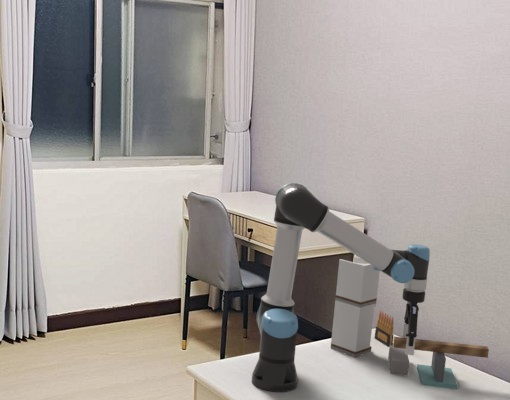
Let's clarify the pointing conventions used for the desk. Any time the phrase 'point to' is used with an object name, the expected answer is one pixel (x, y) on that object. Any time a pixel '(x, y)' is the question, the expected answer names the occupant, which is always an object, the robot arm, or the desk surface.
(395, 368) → the riser block
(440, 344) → the walnut rod
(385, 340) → the ammunition clip
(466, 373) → the desk surface
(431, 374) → the stand
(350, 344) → the tall open-top box
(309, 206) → the robot arm
